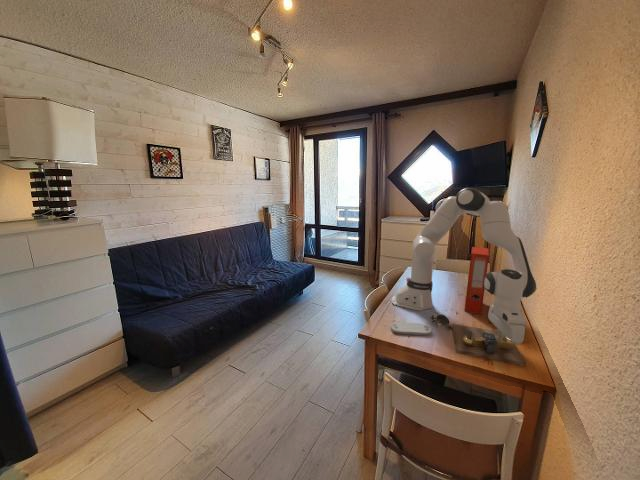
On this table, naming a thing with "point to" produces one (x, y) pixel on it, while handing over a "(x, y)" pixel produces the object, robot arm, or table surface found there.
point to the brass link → (479, 341)
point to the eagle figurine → (441, 320)
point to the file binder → (476, 280)
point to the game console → (411, 328)
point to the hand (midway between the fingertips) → (501, 340)
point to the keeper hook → (490, 342)
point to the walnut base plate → (499, 353)
